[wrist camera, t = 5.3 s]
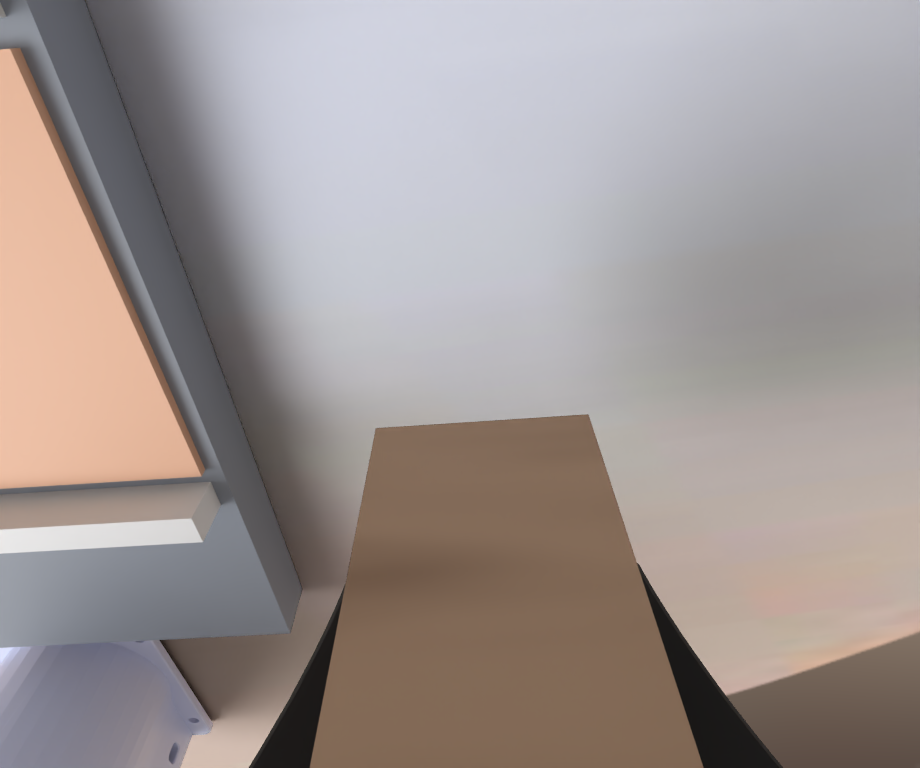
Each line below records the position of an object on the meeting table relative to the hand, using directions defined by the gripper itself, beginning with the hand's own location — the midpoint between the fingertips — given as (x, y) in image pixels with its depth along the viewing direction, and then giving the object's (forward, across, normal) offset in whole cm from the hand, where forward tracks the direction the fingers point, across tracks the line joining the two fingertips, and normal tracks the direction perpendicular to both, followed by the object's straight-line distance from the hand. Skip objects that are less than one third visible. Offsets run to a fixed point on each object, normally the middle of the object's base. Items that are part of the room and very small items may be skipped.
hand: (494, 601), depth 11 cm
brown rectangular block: (+2, 0, 0) cm, 2 cm away
